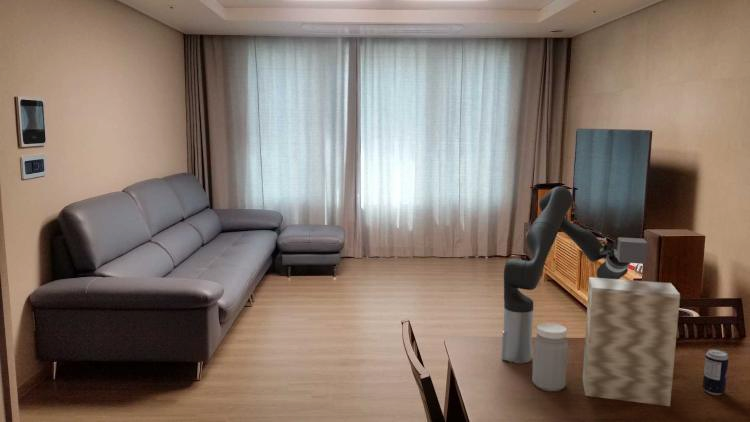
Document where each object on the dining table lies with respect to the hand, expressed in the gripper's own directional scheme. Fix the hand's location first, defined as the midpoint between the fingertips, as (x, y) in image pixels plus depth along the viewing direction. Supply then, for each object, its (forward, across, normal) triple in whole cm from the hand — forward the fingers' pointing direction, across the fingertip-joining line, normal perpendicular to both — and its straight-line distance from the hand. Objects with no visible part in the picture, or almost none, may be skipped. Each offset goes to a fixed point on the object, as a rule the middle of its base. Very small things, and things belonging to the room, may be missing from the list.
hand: (626, 243), depth 174 cm
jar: (-5, -21, +44) cm, 49 cm away
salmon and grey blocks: (+2, 0, +4) cm, 5 cm away
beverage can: (-13, +25, +40) cm, 49 cm away
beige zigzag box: (-6, 0, +43) cm, 44 cm away
